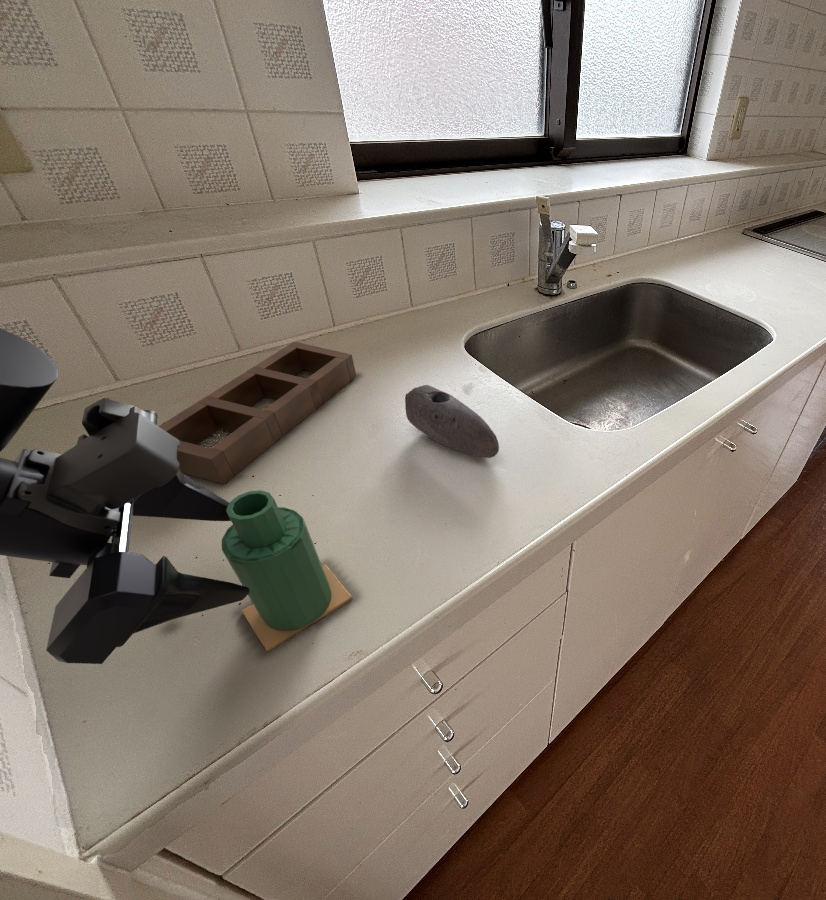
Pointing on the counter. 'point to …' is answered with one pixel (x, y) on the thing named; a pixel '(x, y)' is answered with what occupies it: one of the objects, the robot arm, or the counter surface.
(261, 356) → the counter surface
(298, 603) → the bottle
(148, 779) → the counter surface
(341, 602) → the cork trivet
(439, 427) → the perforated stone tool
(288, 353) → the brown compartment tray
